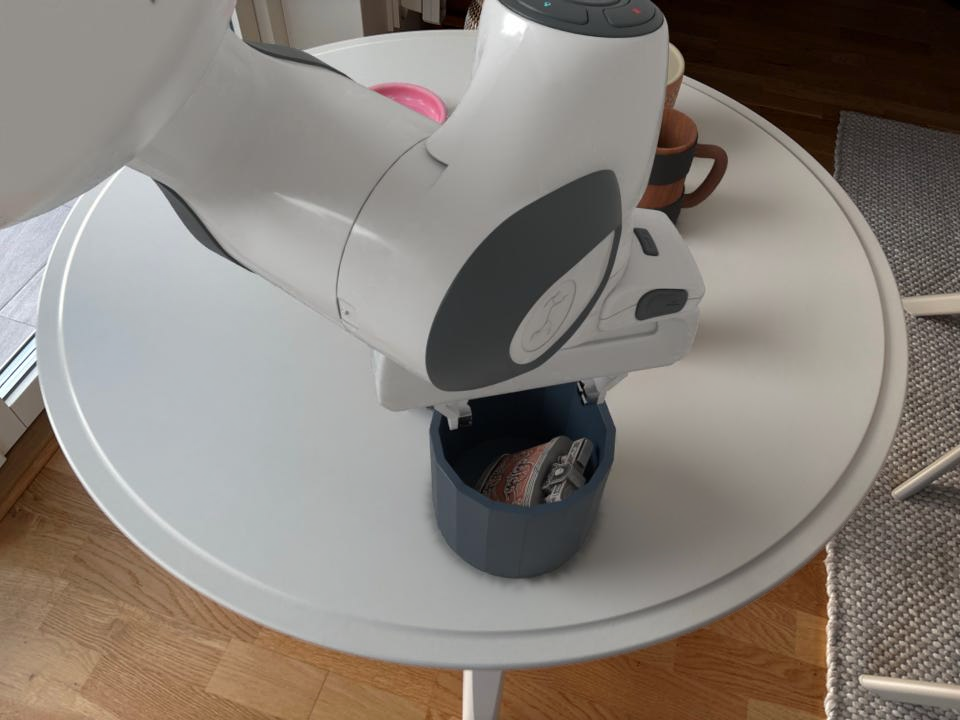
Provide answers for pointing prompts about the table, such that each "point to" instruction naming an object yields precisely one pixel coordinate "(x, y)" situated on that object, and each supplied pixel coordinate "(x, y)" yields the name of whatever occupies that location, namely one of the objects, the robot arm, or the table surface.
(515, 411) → the pot
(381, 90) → the saucer
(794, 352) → the table surface
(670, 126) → the mug
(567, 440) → the lighter
